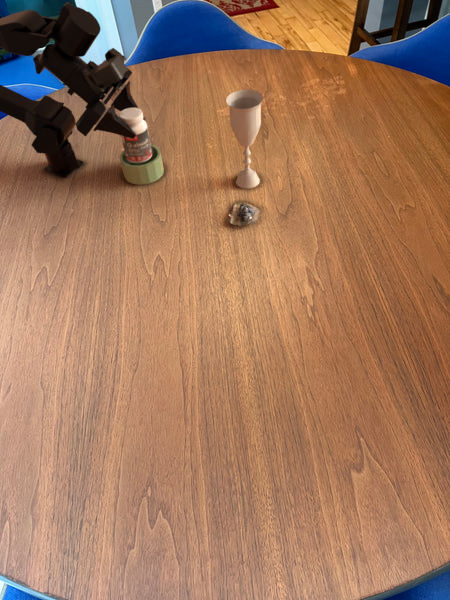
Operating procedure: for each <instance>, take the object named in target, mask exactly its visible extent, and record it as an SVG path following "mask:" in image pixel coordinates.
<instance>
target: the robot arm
mask: <svg viewBox="0 0 450 600" xmlns="http://www.w3.org/2000/svg"><path fill="white" fill-rule="evenodd" d="M58 15H59V16H58V17H57V18H55V17H49V16H45V15H40V13H39V12H38V11H36V10H33V9H27V10H26V9H25V10H22V11H19V12H14V13H11V14H9V15H6V16H4V17H0V49H3V50H4V51H6V52H8V53H9V54H13V55H18V56H24V57H32V56H33V55H34V54H35V53H37V51H39V50H41V49H43V50H42V52H41V53H37V54H36V55H35V56H34V57H33V58H32V61H33V63H34V68H35V73H36V74H37V75H41V74H42V72H43V71H44V70H47V71H48V72H49V73H51V75H53V76H54V77H55V78H57V79H58V80H59V81H60V82H61V83H62V84H64V85H65V86H66V87H67V88H68V90H67V91H66V92H67V94H68V95H69V96H73V95H74V94H75V95H77V96H78V97H79V98H80V99H81V100H82V101H84V102H85V103H86V105H85V110H84V111H83V113H82V114H81V116H80V117H79V118H78V119H77V121H76V118H75V116H74V114H73V111H72V110H71V109H70V108H69V107H67V106H66V105H65V102H63V101H58V100H56V99H54V98H52V97H51V96H49V95H44V96H43V97H42V98H41V99H40V100H33V99H31V98H29V97H27V96H25V95H23V94H20V93H19V92H16V91H15V90H13V89H10V88H8V87H6V86H4V85H2V84H0V112H1V113H2V114H6V115H7V116H9V117H11V118H13V119H15V120H17V121H20V122H22V123H24V124H25V125H26V127H27V128H28V129H29V131H30V132H31V133H32V135H34V136H35V138H34V139H33V141H32V142H31V147H32V148H33V149H34V151H35V152H36V153H37V154H43V155H44V156H45V159H46V161H47V163H48V165H46V166H45V167H44V171H45V172H48V173H49V174H52V175H55V176H57V177H60V178H66V177H68V176H69V175H71V174H72V173H73V172H74V171H76V170H77V169H79V168H80V167H81V166H83V165H84V162H83V161H84V160H80V159H78V158H77V156H76V154H75V150H74V149H73V146H72V143H71V142H70V141H69V137H70V136H71V135H72V134H73V131H74V128H75V127H76V130H77V131H78V132H79V133H80V134H82V135H83V136H84V137H87V136H88V134H89V133H90V132H91V130H92V131H94V132H97V131H100V132H106V133H111V134H115V135H119V136H120V137H121V136H125V137H129V138H132V139H134V138H135V137H136V134H135V132H134V131H133V130H132V129H131V128H130V127H129V126H128V125H127V124H126V123H125V122H124V121H123V120H122V119H121V118H120V117H119V115H118V114H117V111H119V112H121V111H122V110H124V109H127V108H139V106H138V105H137V103H136V101H135V100H134V98H133V96H132V94H131V81H130V80H128V79H129V78H130V77H131V75H132V74H133V72H132V71H131V70H130V69H129V67H128V66H127V65H126V60H127V59H126V56H125V55H123V54H122V53H121V52H119V51H118V50H117V49H116V48H115V47H112V48H110V49H109V50H107V52H105V54H104V57H105V60H103V61H102V62H101V63H99V64H97V63H96V62H95V61H93V60H89V61H88V62H86V61H85V60H83V59H82V58H83V57H84V56H86V54H87V53H88V52H89V50H90V48H91V47H92V46H93V44H94V42H95V40H96V39H97V38H98V36H99V35H100V33H101V24H100V23H99V21H98V19H97V18H96V17H95V16H94V14H93V13H91V12H90V11H87V10H85V9H84V8H82V7H78V6H73V4H71V2H68V1H67V2H66V3H65V4H64V5H63V6H62V7H61V9H60V11H59V14H58ZM51 41H54V43H50V42H51ZM127 81H128V82H127ZM126 82H127V83H126ZM110 100H111V101H112V103H111V104H110V107H109V106H108V105H107V104H109V101H110ZM116 110H117V111H116ZM143 120H144V121H145V122H146V117H145V116H144V115H143Z"/></svg>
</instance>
